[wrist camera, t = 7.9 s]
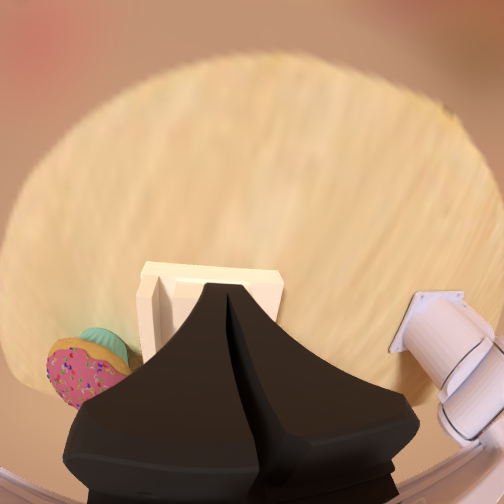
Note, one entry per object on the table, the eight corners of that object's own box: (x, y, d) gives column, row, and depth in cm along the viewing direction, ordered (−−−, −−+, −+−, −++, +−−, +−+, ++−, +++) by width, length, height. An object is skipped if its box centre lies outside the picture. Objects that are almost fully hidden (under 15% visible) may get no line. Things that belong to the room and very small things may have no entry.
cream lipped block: (278, 270, 21) (294, 305, 17) (254, 382, 26) (261, 419, 22) (146, 261, 20) (130, 295, 15) (156, 377, 24) (150, 415, 20)
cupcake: (150, 325, 22) (124, 450, 11) (143, 384, 25) (128, 486, 14) (62, 299, 20) (0, 400, 9) (69, 362, 23) (34, 453, 12)
